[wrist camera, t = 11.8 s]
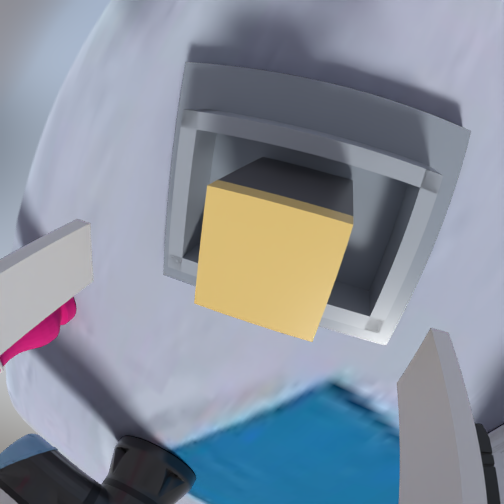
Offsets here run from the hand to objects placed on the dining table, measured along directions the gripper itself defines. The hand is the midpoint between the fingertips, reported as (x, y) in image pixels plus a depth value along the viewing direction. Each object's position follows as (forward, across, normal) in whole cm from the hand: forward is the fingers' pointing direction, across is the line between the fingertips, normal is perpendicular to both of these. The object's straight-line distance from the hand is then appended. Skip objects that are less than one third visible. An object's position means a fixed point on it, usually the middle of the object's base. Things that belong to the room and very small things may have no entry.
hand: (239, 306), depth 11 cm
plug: (+10, 0, -1) cm, 10 cm away
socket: (+12, 0, -1) cm, 12 cm away
